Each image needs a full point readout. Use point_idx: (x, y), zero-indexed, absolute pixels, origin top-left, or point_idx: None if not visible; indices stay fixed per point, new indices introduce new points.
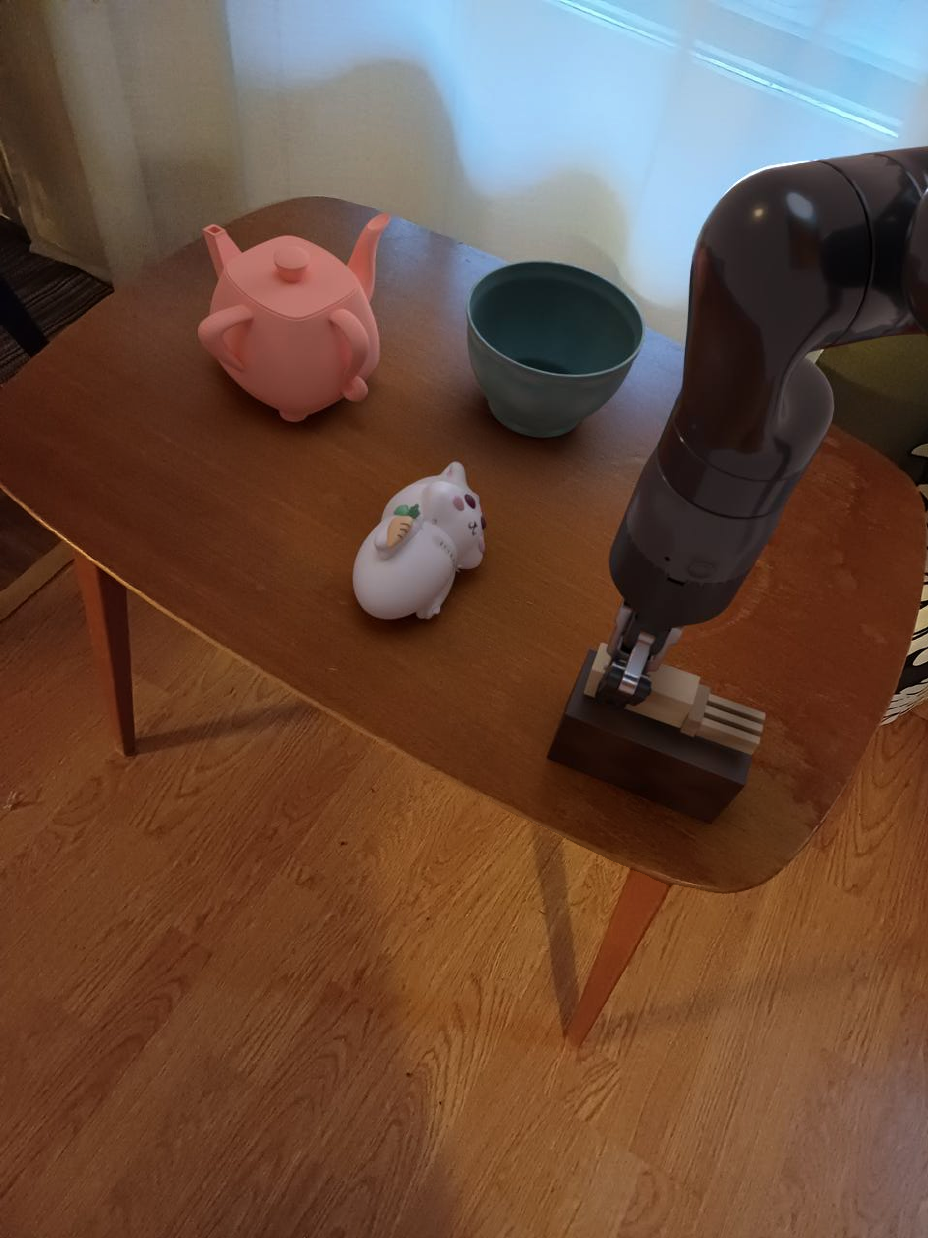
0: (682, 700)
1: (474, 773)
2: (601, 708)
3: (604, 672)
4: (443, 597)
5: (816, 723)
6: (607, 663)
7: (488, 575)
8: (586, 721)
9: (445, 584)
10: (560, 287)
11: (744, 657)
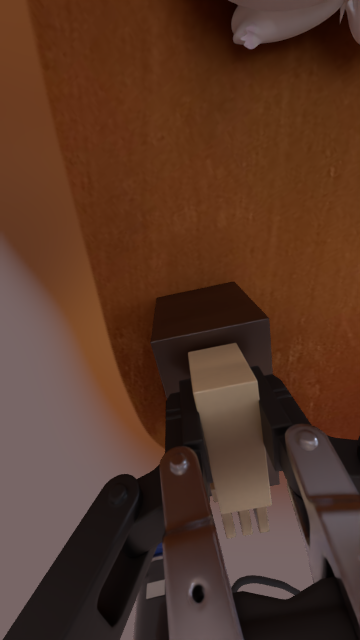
0: (220, 504)
1: (93, 247)
2: (188, 372)
3: (167, 460)
4: (278, 33)
5: None
6: (181, 470)
7: (355, 85)
8: (159, 366)
9: (296, 3)
10: None
11: (352, 386)
